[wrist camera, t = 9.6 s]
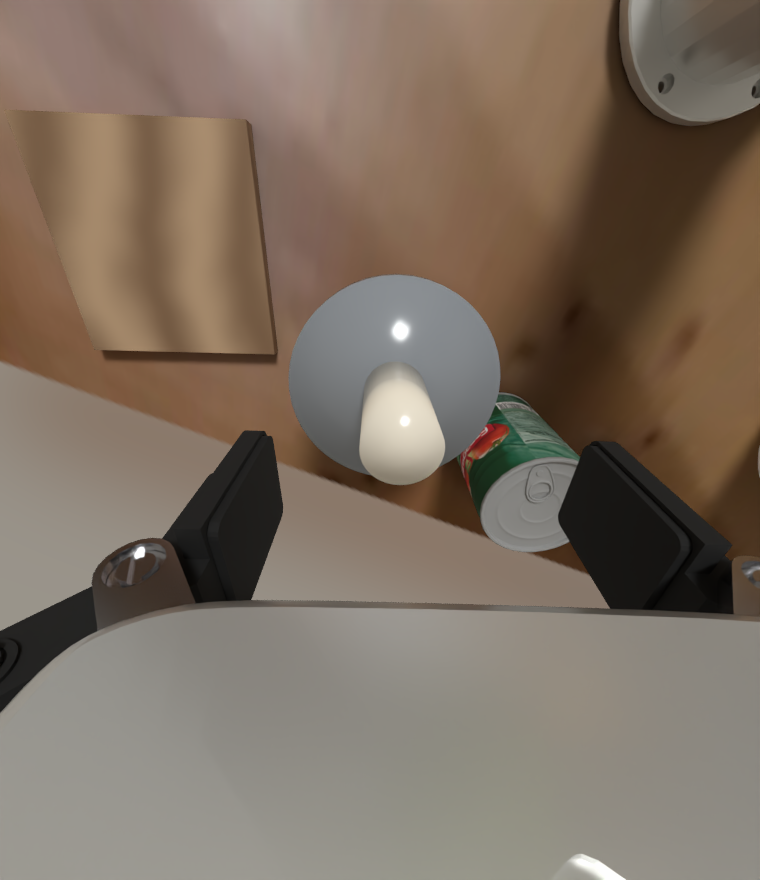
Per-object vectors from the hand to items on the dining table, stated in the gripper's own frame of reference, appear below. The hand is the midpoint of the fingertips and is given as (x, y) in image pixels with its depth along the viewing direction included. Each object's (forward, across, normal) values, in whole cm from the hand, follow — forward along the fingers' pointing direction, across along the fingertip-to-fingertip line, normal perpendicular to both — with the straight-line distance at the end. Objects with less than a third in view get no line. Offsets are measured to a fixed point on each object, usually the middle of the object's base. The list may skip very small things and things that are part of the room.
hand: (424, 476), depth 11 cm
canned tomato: (+20, -9, +9) cm, 23 cm away
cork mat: (+19, +17, -5) cm, 26 cm away
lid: (+10, +1, +1) cm, 10 cm away
